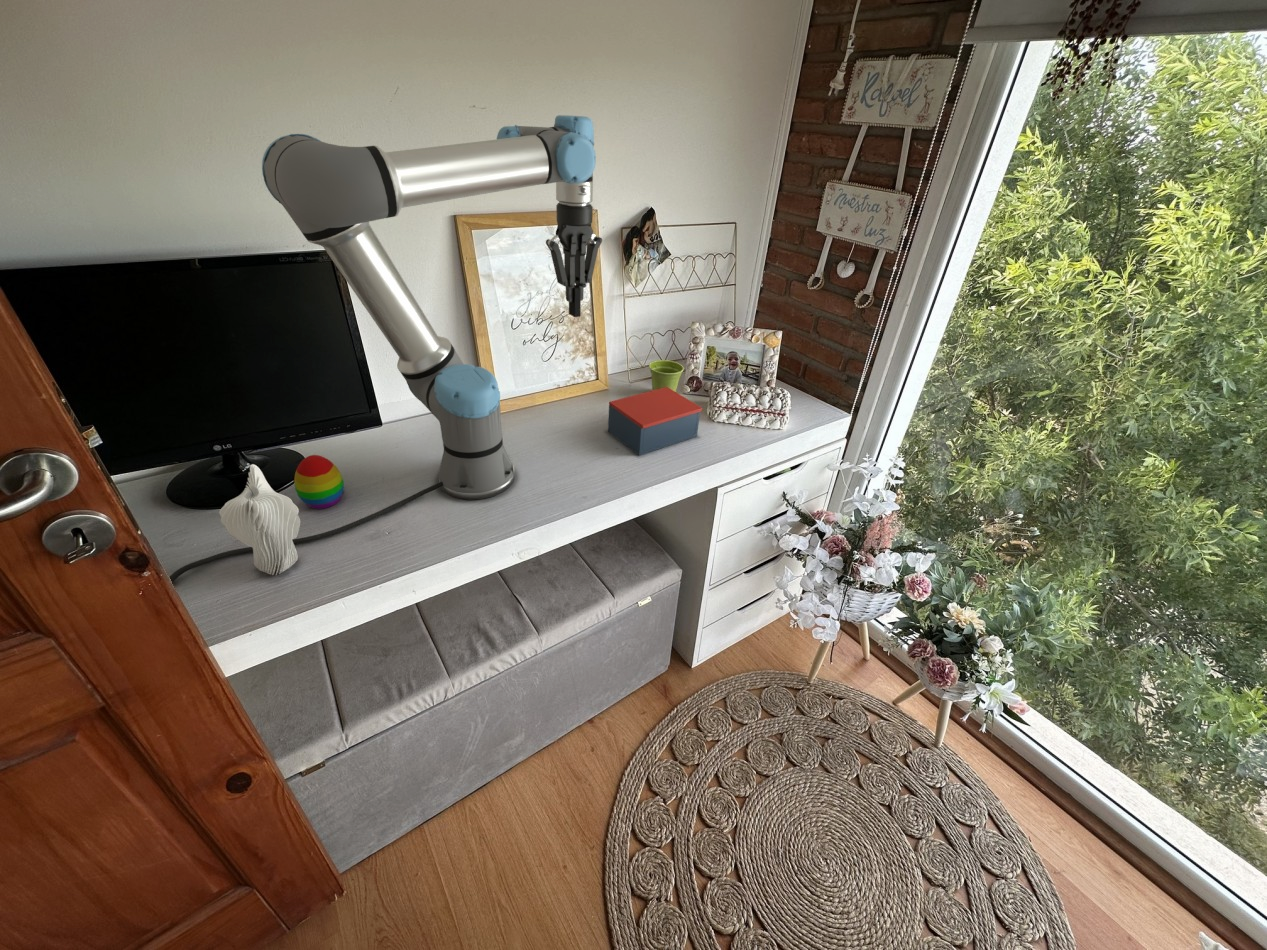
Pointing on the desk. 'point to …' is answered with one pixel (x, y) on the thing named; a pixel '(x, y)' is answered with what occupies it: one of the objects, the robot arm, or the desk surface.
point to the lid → (655, 407)
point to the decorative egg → (318, 482)
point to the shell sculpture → (264, 523)
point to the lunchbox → (651, 431)
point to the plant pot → (665, 374)
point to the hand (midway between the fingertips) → (574, 315)
